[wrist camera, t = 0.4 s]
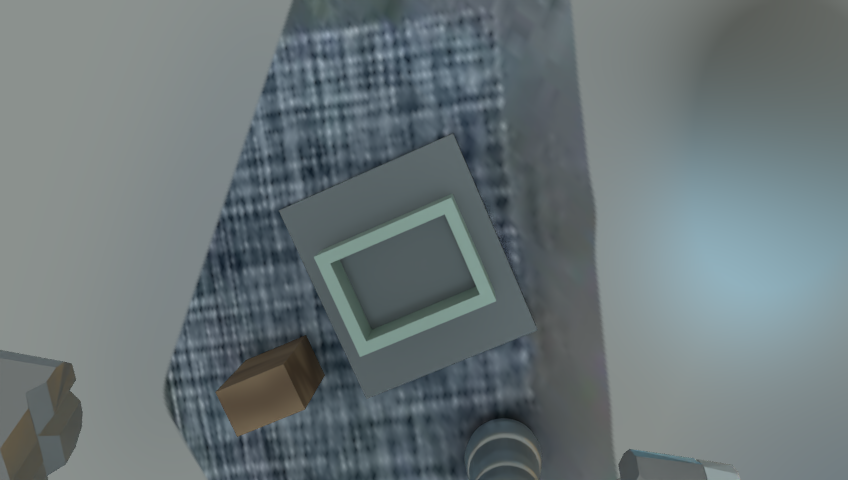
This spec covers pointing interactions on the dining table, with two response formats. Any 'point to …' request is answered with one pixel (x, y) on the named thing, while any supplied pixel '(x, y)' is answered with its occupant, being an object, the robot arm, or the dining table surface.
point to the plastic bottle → (503, 452)
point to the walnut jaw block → (271, 386)
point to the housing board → (409, 267)
